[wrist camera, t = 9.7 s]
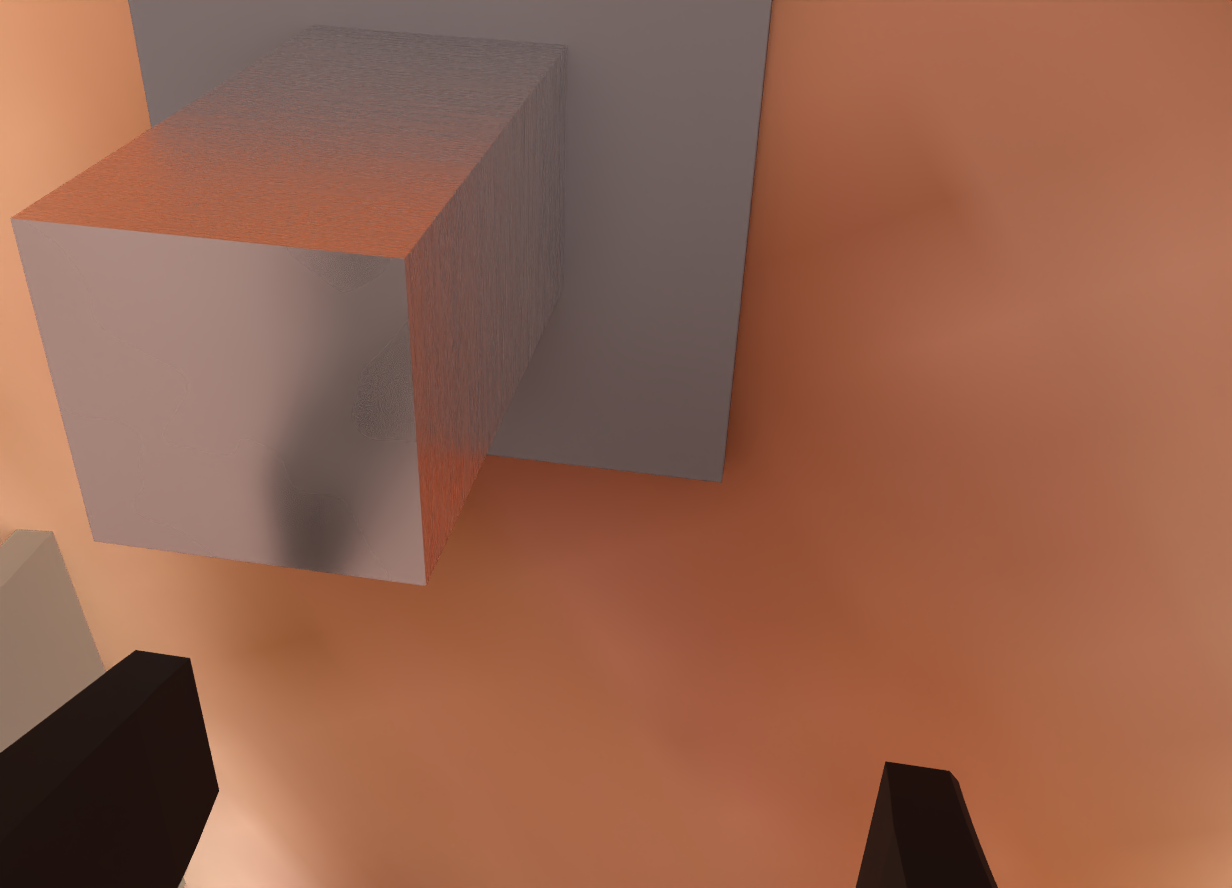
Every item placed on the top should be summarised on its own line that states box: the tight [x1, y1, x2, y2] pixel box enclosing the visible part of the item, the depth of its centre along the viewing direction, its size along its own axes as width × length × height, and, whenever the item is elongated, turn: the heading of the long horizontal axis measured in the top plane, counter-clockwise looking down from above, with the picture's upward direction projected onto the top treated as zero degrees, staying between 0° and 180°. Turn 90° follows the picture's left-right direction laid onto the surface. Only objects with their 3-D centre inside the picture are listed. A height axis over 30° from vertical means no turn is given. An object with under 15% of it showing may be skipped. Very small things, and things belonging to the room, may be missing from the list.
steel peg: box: [10, 25, 567, 586], centre depth 16 cm, size 4×4×8 cm
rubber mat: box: [128, 0, 772, 483], centre depth 20 cm, size 10×10×1 cm
